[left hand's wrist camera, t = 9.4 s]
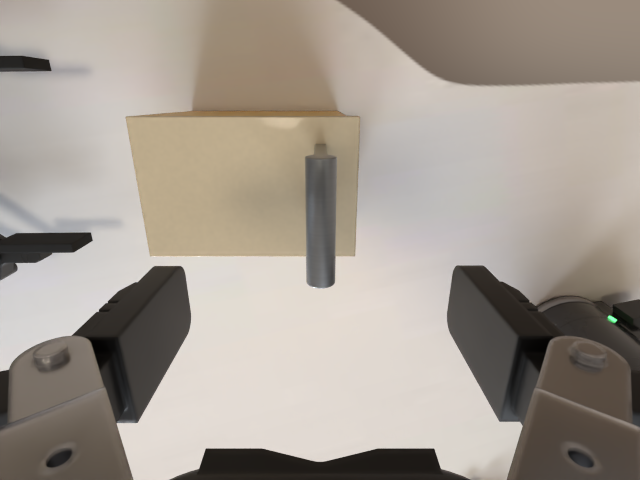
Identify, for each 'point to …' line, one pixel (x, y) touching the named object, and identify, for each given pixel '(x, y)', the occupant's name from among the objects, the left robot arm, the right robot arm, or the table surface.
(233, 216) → the lid
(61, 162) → the table surface
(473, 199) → the table surface
